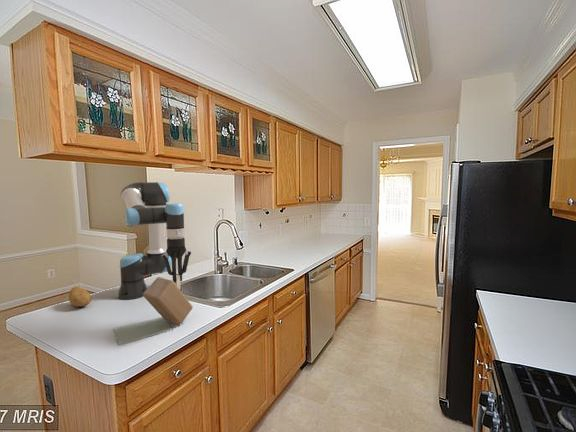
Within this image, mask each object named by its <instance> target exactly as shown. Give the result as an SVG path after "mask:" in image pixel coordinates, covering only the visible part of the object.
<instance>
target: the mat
mask: <svg viewBox="0 0 576 432" xmlns="http://www.w3.org/2000/svg"><path fill="white" fill-rule="evenodd" d="M170 330H171V331H173V330H174V329H173V328H172V327H171V325H170V324H169V321H166V320H165V319H164V318H163V317H162V316H159V317H155V318H151V319H148V320H143V321H140V322H135V323H132V324H131V323H130V324H128V325H125V326H120V327H115V328H113V331H114V334H115V337H116V341H117V344H118V346H122V345H125V344H128V343H129V344H130V343H132V342H136V341H139V340H142V339H146V338H149V337H153V335H154V336H157V335H160V333H161V334H164V333H168V332H171V331H170ZM167 331H168V332H167ZM163 332H164V333H163Z"/></svg>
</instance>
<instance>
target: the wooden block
mask: <svg viewBox="0 0 576 432" xmlns="http://www.w3.org/2000/svg"><path fill="white" fill-rule="evenodd" d="M142 297H143V298H145V300H146V301H148V303H149V304H150V306H152V307H153V309H155V311H156V312H157V313H158V314H159V315H160V317H163V318H164V319H165V320H166V321H167V322H168V323H169V322H170V323H172V324H175V325H177V326H181V324H182V323H183V322H184V320H186V318H187V317H188V315H189V314H190V312H191V311H192V310H193V307H194V306H193V305H192V304H191V303H190V301H189V300H188V299H187V297H186V295H184V293H183V292H182V291H181V288H180V289H179V288H178V287H177V285H176V284H175V283H174V281H173V279H172V280H171V279H167V278H164V277H160V276H159V277H157V278H156V279H155V280H154V281H152V283H151V284H150V285H149V286H148V287H147V289H146V291H145V292H144V293H143V296H142Z"/></svg>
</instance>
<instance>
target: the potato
mask: <svg viewBox="0 0 576 432" xmlns="http://www.w3.org/2000/svg"><path fill="white" fill-rule="evenodd" d="M68 302H69V303H70V305H71V306H73V307H76V308H79V307H86V306H87V305H89V304H90V303H91V302H92V296H91V294H90V293H89V291H87V290H86V289H84V288H83V287H81V286H73V287H72V288H71V289H70V291H69V293H68Z"/></svg>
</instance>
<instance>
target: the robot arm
mask: <svg viewBox="0 0 576 432" xmlns="http://www.w3.org/2000/svg"><path fill="white" fill-rule="evenodd" d="M120 199H121V201H122V202H123V204H125V206H126V209H125V211H124V218H125V223H126V225H127V226H138V225H139V226H142V225H144V226H145V225H148V243H149V245H148V246H149V247H148V248H149V249H147V251H146V254H143V253H142V252H138V253H136V252H135V253H130V254H128V255H125V256H123V257H121V258H120V260H119V269H120V270H119V271H120V284H119V285H120V286H119V290H118V293H117V298H118V299H120V300H134V299H138V298H143V297H144V296H143V293H144V292H145V291H146V289H147V288H148V287H147V284H146V282H145V276H150V275H156V274H164V273H167V274H168V275H169V276H172V281H174V283H175V284H176V285H177V287H178V288H179V289H180V290H181V282H182V281H183V274H185V273H187V270H188V269H187V268H188V265H189V264H188V263H189V259H190V256H191V255H192V252H191V251H190V250H188V249H187V248H186V239H185V235H186V234H185V216H184V215H185V214H184V213H185V210H184V209H185V208H184V204H182V203H176V202H175V203H169V202H170V191H169V189H168V186H167V184H166V183H165V182H158V181H156V182H155V181H153V182H151V181H150V182H148V181H145V182H141V181H139V182H138V181H137V182H132V183H129V184H127V185H126V186H124V187H123V188H122V189H121V191H120ZM165 224H166V225H165ZM165 226H166V236H165ZM183 256H184V259H183ZM182 262H183V263H182Z"/></svg>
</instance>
